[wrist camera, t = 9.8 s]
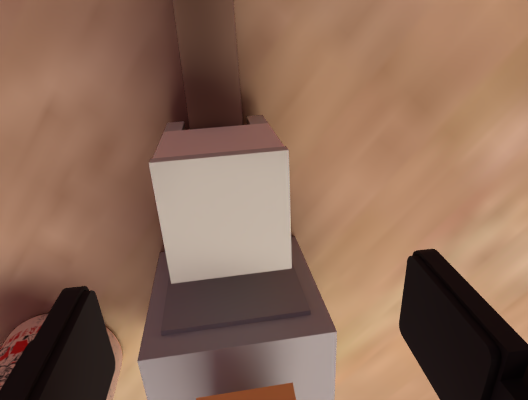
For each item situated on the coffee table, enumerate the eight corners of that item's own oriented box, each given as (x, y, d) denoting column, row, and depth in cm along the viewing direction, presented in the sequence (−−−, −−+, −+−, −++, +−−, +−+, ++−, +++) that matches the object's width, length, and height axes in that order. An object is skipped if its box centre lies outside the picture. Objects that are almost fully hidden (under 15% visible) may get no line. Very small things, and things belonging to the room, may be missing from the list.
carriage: (263, 113, 23) (288, 150, 16) (267, 203, 26) (291, 268, 19) (166, 122, 23) (148, 162, 16) (180, 212, 25) (171, 283, 18)
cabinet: (294, 233, 28) (337, 327, 19) (296, 319, 32) (333, 433, 23) (159, 248, 27) (136, 356, 18) (176, 336, 31) (164, 463, 22)
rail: (222, -399, 16) (228, -550, 12) (261, 234, 28) (271, 269, 24) (97, -407, 15) (57, -569, 11) (193, 242, 27) (191, 279, 23)
